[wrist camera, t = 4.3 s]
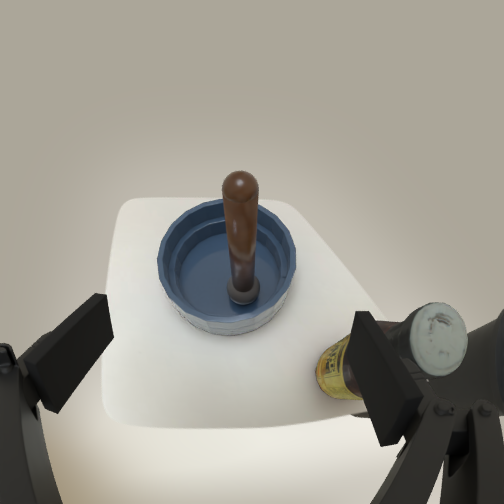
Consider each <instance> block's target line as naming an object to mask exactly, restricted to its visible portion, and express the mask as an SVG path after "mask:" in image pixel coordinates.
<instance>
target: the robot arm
mask: <svg viewBox="0 0 504 504" xmlns="http://www.w3.org/2000/svg"><path fill="white" fill-rule="evenodd" d="M113 338H114V335H113V330H112V324H111V319H110V313H109V307H108V301H107V295H105V294H98V293H95V294H94V295H92V296H91V297H90V298H89V299H88V300H87V301H86V302H84V304H82V305H81V306H80V307H79V308H78V309H76V310H75V311H74V312H73V313H72V314H71V315H70V316H68V317H67V318H66V319H65V320H64V321H63V322H62V323H61V324H60V325H59V326H57V327H56V328H55V329H54V330H53V331H52V332H49V333H47V334H44V335H42V336H41V337H40V338H39V339H38V340H37V341H36V342H35V343H34V344H33V345H32V347H30V348H28V349H27V350H26V352H24V353H23V354H22V355H21V356H20V357H19V358H18V359H17V360H16V357H15V354H14V352H13V349H12V347H11V346H10V345H9V344H6V343H0V504H63V503H62V500H61V497H60V494H59V491H58V488H57V485H56V482H55V479H54V475H53V472H52V468H51V464H50V460H49V456H48V452H47V449H46V444H45V439H44V434H43V429H42V423H41V418H40V411H39V408H38V406H37V403H38V402H39V400H41V402H42V404H43V406H44V408H45V409H47V410H49V411H52V412H54V413H57V414H58V413H59V411H60V410H61V409H62V407H63V406H64V404H65V403H66V402H67V400H68V399H69V397H70V396H71V395H72V393H73V392H74V390H75V389H76V388H77V386H78V385H79V383H80V382H81V381H82V379H83V378H84V377H85V375H86V374H87V373H88V371H89V370H90V368H91V367H92V366H93V365H94V363H95V362H96V361H97V359H98V358H99V357H100V355H101V354H102V353H103V351H104V350H105V349H106V347H107V346H108V345H109V344H110V342H111V341H112V340H113ZM346 357H347V360H348V362H349V365H350V367H351V370H352V372H353V375H354V377H355V380H356V382H357V385H358V387H359V390H360V393H361V395H362V398H363V400H364V403H365V406H366V408H367V411H368V413H369V416H370V419H371V421H372V424H373V427H374V430H375V432H376V435H377V438H378V441H379V443H380V446H381V447H383V446H389V445H394V444H398V442H399V440H400V439H401V437H402V436H404V438H405V440H406V443H405V444H404V446H403V447H402V449H401V450H400V452H399V453H398V455H397V459H396V461H395V463H394V465H393V467H392V468H391V470H390V472H389V474H388V476H387V477H386V479H385V481H384V483H383V484H382V486H381V487H380V489H379V491H378V493H377V494H376V496H375V497H374V499H373V500H372V502H371V503H370V504H427V501H428V499H429V497H430V494H431V492H432V490H433V487H434V484H435V482H436V480H437V477H438V474H439V472H440V469H441V466H442V463H443V460H444V465H443V478H442V489H441V497H440V504H504V442H503V436H502V430H501V424H500V419H499V414H498V410H497V408H496V406H495V405H494V404H493V403H492V402H490V401H488V400H484V399H481V400H477V401H475V402H474V404H473V405H472V407H471V409H457V408H456V407H455V405H454V404H453V403H452V402H451V401H449V400H447V399H444V398H438V396H437V395H436V393H435V392H434V390H433V389H432V387H431V386H430V384H429V383H428V381H427V380H426V379H425V377H424V375H423V374H422V373H421V371H420V369H419V368H418V366H417V365H416V364H415V363H414V362H412V361H411V360H410V359H408V358H404V359H401V358H400V357H399V355H398V354H397V352H396V351H395V349H394V348H393V346H392V345H391V343H390V341H389V340H388V338H387V337H386V335H385V334H384V332H383V331H382V329H381V328H380V327H379V325H378V324H377V322H376V321H375V319H374V318H373V316H372V315H371V313H370V312H369V311H356V312H355V317H354V321H353V326H352V330H351V334H350V338H349V343H348V347H347V351H346Z"/></svg>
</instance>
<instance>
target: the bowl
mask: <svg viewBox="0 0 504 504" xmlns="http://www.w3.org/2000/svg"><path fill="white" fill-rule="evenodd" d="M157 264H158V273H159V279H160V281H161V283H162V285H163V287H164V289H165V291H166V293H167V295H168V297H169V298H170V300H171V301H172V303H173V304H174V305H175V307H176V308H177V310H178V311H179V312H180V314H181V315H183V316H184V317H185V318H186V319H187V320H188V321H189V322H190V323H191V324H193V325H194V326H195V327H198V328H200V329H202V330H205V331H207V332H209V333H212V334H220V335H237V334H242V333H246V332H250V331H253V330H255V329H257V328H259V327H260V326H262V325H263V324H265V323H267V322H268V321H270V320H271V319H272V318H273V317H274V315H275V314H276V313H277V312H278V311H279V309H280V308H281V307H282V306H283V304H284V301H285V298H286V296H287V293H288V290H289V287H290V284H291V281H292V278H293V276H294V273H295V270H296V248H295V245H294V243H293V240H292V237H291V235H290V232H289V230H288V229H287V228H286V226H285V225H284V224H283V223H282V222H281V220H280V219H279V218H278V217H277V216H276V215H275V214H273V213H272V212H270V211H269V210H267V209H266V208H264V207H262V206H260V205H258V213H257V234H256V254H255V276H256V277H257V278H258V280H259V282H260V293H259V295H258V297H257V298H256V300H254V301H253V302H252V303H249V304H238V303H236V302H234V301H233V300H231V298H230V297H229V295H228V293H227V282H228V280H229V278H230V277H231V276H232V275H231V266H230V258H229V249H228V240H227V232H226V223H225V213H224V204H223V199H218V200H214V201H209V202H204V203H202V204H200V205H198V206H196V207H194V208H192V209H190V210H188V211H186V212H185V213H183V214H182V215H181V216H180V217H179V218H178V219H177V220H176V221H174V222H173V223H172V224H171V226H170V227H169V229H168V231H167V232H166V234H165V236H164V237H163V239H162V241H161V244H160V248H159V253H158V257H157Z"/></svg>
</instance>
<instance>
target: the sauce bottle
mask: <svg viewBox="0 0 504 504" xmlns="http://www.w3.org/2000/svg"><path fill="white" fill-rule="evenodd" d="M376 322H377V324H378V325H379V327H380V328H381V329H382V331H383V332H384V334H385V335H386V337H387V338H388V340H389V341H390V343H391V345H392V346H393V348H394V349H395V351H396V352H397V354H398V355H399V357H400V358H401V359H404V358H408V359H410V360H411V361H412V362H414V363H415V364H416V365H417V366H418V368H419V369H420V371H421V373H422V374H423V375H424V377H425V379H436V378H440V377H444V376H446V375H449V374H450V373H452V372H453V371H455V370H456V369H457V368H458V367H459V365H460V364H461V362H462V360H463V358H464V356H465V353H466V350H467V343H468V338H467V334H466V327H465V324H464V321H463V319H462V318H461V316H460V315H459V313H458V312H457V311H456V310H455V309H454V308H452V307H451V306H450V305H447V304H445V303H428V304H426V305H424V306H422V307H420V308H418V309H416V310H415V311H413V312H412V313H411V314H410V315H409V316H408V317H407V318H406V319H405V321H403V322H389V321H376ZM350 334H351V333H350ZM350 334H349V335H347V336H346V337H345V338H343V339H342V340H340V341H338V342H337V343H336V344H334V345H333V346H331V347H330V348H328V349H327V350H326V351H325V352H324V353H323V354H322V356H321V357H320V359H319V361H318V364H317V367H316V377H317V381H318V384H319V386H320V388H321V389H322V391H324V392H325V393H327V394H328V395H329V396H331V397H333V398H337V399H351V400H352V399H353V400H363V398H362V395H361V393H360V390H359V387H358V385H357V382H356V380H355V377H354V375H353V372H352V370H351V367H350V365H349V362H348V360H347V357H346V351H347V347H348V343H349V338H350Z"/></svg>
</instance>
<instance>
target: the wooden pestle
mask: <svg viewBox="0 0 504 504" xmlns="http://www.w3.org/2000/svg"><path fill="white" fill-rule="evenodd" d="M258 191H259V187H258V183H257V180H256V179H255V178H254V176H253V175H252V174H250V173H248V172H245V171H235V172H233V173H231V174H229V175H228V176H227V177H226V178H225V180H224V182H223V185H222V194H223V204H224V213H225V223H226V232H227V240H228V249H229V258H230V266H231V275H232V276H231V277H230V278H229V280H228V282H227V293H228V295H229V297H230V298H231V300H233V301H234V302H236V303H238V304H249V303H252V302H253V301H254V300H256V298H257V297H258V295H259V293H260V282H259V280H258V278H257V277H256V276H255V254H256V234H257V213H258Z"/></svg>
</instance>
